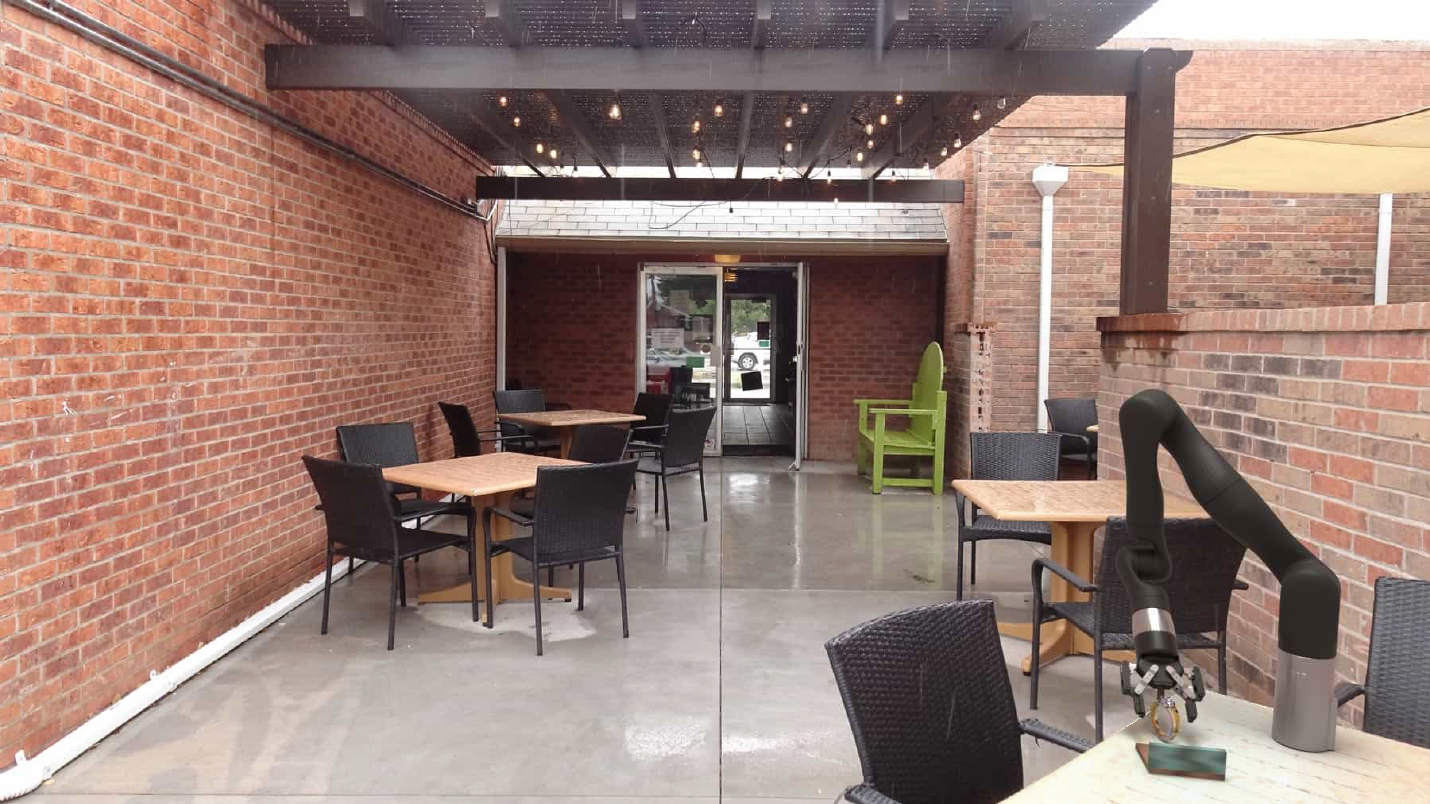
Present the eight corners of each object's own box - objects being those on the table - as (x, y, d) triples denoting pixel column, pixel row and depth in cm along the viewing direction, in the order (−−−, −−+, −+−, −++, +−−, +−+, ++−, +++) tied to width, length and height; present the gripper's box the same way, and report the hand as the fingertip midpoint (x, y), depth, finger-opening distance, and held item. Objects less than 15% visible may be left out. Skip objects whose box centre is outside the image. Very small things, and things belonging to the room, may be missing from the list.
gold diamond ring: (1182, 747, 174) (1184, 705, 174) (1165, 748, 174) (1167, 705, 174) (1161, 731, 181) (1163, 690, 181) (1145, 731, 181) (1147, 690, 180)
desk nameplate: (1206, 754, 172) (1208, 727, 171) (1225, 780, 162) (1226, 752, 162) (1135, 747, 174) (1136, 721, 174) (1149, 773, 164) (1150, 744, 164)
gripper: (1119, 625, 184) (1129, 706, 174) (1199, 631, 182) (1214, 714, 171) (1111, 643, 190) (1121, 723, 180) (1189, 649, 187) (1203, 730, 177)
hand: (1167, 718), depth 176 cm, fingers open, 8 cm apart
